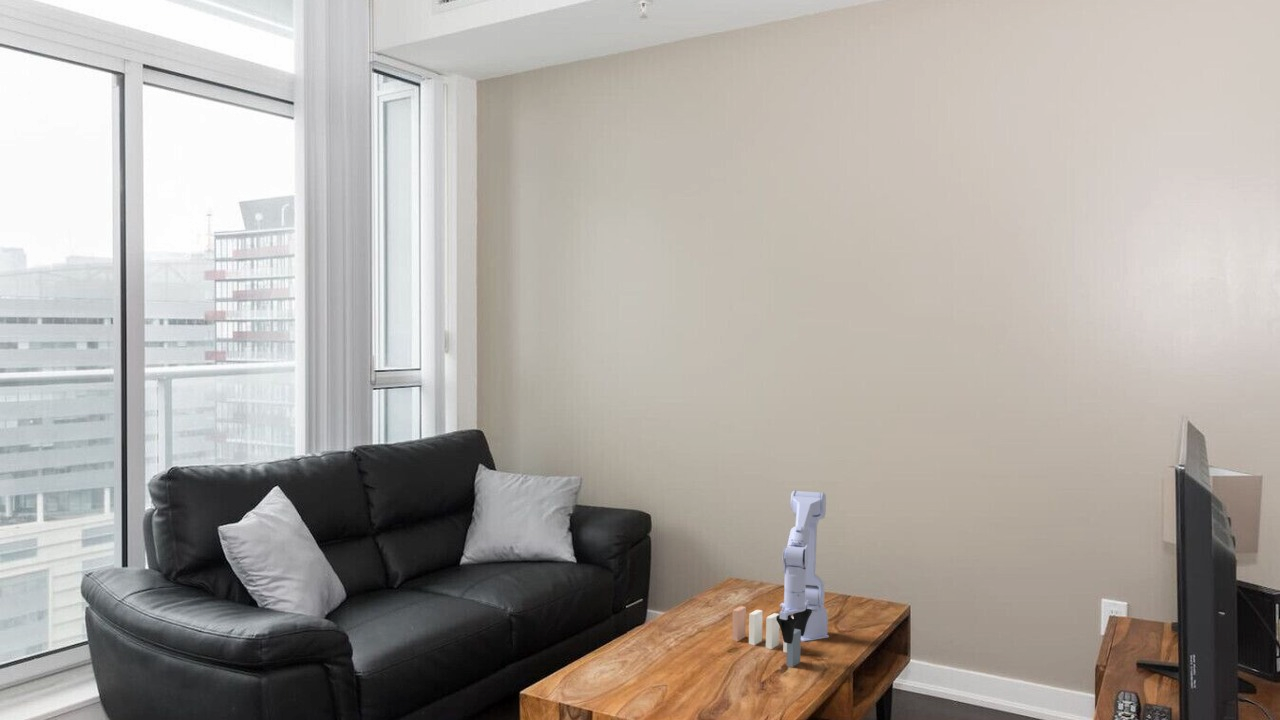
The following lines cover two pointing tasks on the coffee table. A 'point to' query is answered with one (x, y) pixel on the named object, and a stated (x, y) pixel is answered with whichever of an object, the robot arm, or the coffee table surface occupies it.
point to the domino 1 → (739, 623)
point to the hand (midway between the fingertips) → (793, 638)
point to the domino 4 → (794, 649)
